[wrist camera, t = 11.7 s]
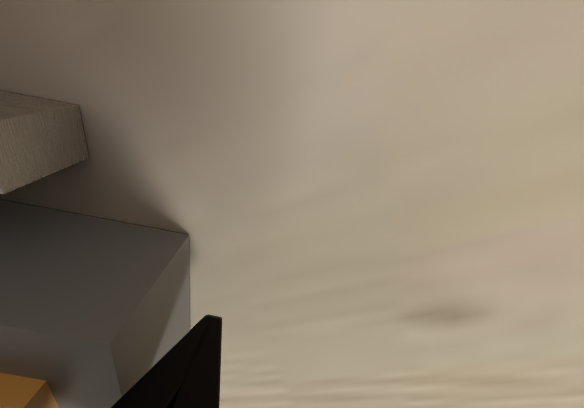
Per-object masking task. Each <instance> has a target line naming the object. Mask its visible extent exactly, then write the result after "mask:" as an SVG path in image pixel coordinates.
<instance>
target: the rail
mask: <svg viewBox="0 0 584 408" xmlns="http://www.w3.org/2000/svg"><path fill="white" fill-rule="evenodd" d="M87 158H89V156H88V151H87V146H86V140H85V135H84V130H83V125H82V120H81V115H80V110H79V106H78V105H73V104H68V103H62V102H57V101H52V100H47V99H42V98H36V97H31V96H26V95H21V94H15V93H10V92H5V91H0V194H5V193H8V192H10V191H12V190H15V189H17V188H19V187H22V186H24V185H26V184H29V183H31V182H34V181H36V180H38V179H41V178H43V177H45V176H48V175H50V174H52V173H55V172H57V171H59V170H62V169H64V168H66V167H69V166H71V165H73V164H76V163H78V162H80V161H83V160H85V159H87Z"/></svg>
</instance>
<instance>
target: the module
mask: <svg viewBox="0 0 584 408" xmlns="http://www.w3.org/2000/svg"><path fill="white" fill-rule="evenodd" d="M189 331H190V252H189V235H187V234H182V233H177V232H171V231H166V230H161V229H155V228H150V227H145V226H139V225H134V224H129V223H123V222H118V221H113V220H107V219H102V218H97V217H91V216H86V215H80V214H75V213H70V212H64V211H59V210H54V209H48V208H43V207H38V206H32V205H27V204H22V203H16V202H11V201H6V200H0V408H111V407H112V406H113V405H114V404H115V403H116V402H117V401H118V400H119V399H120V398H121V397H122V396H123V395H124V394H125V393H126V392H127V391H128V390H129V389H130V388H131V387H132V386H133V385H134V384H135V383H136V382H137V381H138V380H140V379H141V378H142V377H143V376H144V375H145V374H146V373H147V372H148V371H149V370H150V369H151V368H152V367H153V366H154V365H155V364H156V363H157V362H158V361H159V360H160V359H161V358H162V357H163V356H164V355H165V354H166V353H167V352H168V351H169V350H170V349H171V348H172V347H173V346H174V345H176V344H177V343H178V342H179V341H180V340H181V339H182V338H183V337H184V336H185V335H186V334H187V333H188V332H189Z"/></svg>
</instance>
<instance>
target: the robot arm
mask: <svg viewBox="0 0 584 408" xmlns="http://www.w3.org/2000/svg"><path fill="white" fill-rule="evenodd" d="M221 339H222V318H221V317H218V316H213V315H206V316H204V317H203V318H202V319H201V320H200V321H199V322H198V323H197V324H196V325H195V326H194V327H193V328H192V329H191V330H190V331H189V332H188V333H187V334H186V335H185V336H184V337H183V338H182V339H181V340H180V341H179V342H178V343H177V344H176V345H174V346H173V347H172V348H171V349H170V350H169V351H168V352H167V353H166V354H165V355H164V356H163V357H162V358H161V359H160V360H159V361H158V362H157V363H156V364H155V365H154V366H153V367H152V368H151V369H150V370H149V371H148V372H147V373H146V374H145V375H144V376H143V377H142V378H141V379H140V380H138V381H137V382H136V383H135V384H134V385H133V386H132V387H131V388H130V389H129V390H128V391H127V392H126V393H125V394H124V395H123V396H122V397H121V398H120V399H119V400H118V401H117V402H116V403H115V404H114V405H113V406H112V407H111V408H219V399H220V369H221Z"/></svg>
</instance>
